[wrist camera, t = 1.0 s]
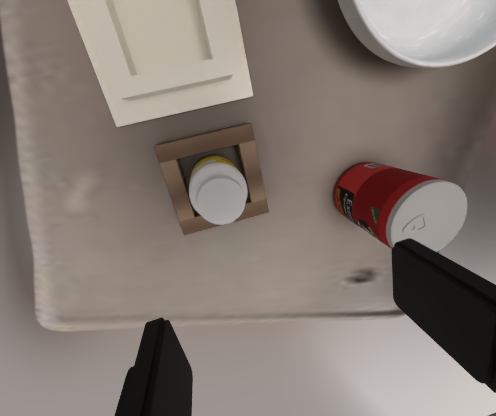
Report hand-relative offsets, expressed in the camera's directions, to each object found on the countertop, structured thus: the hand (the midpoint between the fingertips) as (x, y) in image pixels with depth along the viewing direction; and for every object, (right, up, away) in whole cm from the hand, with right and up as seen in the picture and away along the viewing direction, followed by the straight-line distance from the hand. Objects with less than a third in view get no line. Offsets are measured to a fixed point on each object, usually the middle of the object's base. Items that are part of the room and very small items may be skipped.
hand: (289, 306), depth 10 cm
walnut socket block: (-6, +8, +19) cm, 21 cm away
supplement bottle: (-6, +8, +20) cm, 22 cm away
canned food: (+13, +6, +23) cm, 28 cm away
